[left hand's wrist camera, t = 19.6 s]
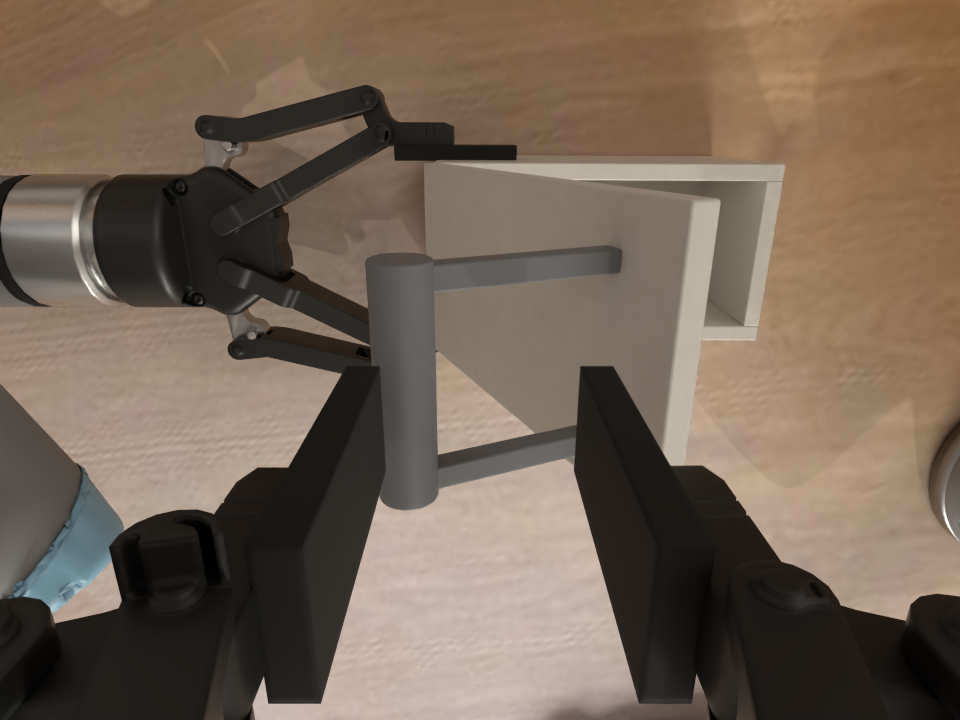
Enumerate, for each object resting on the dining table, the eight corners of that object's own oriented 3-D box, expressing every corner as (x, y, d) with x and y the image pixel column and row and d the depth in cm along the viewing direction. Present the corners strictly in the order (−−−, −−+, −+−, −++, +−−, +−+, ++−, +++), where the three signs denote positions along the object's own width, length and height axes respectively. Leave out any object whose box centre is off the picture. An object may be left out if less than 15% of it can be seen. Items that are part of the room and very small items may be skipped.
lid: (723, 198, 15) (401, 215, 11) (677, 526, 18) (416, 609, 15) (440, 162, 30) (271, 165, 27) (443, 341, 33) (292, 362, 30)
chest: (712, 156, 40) (786, 164, 31) (694, 294, 43) (756, 340, 34) (443, 154, 40) (432, 162, 30) (445, 293, 43) (436, 339, 34)
